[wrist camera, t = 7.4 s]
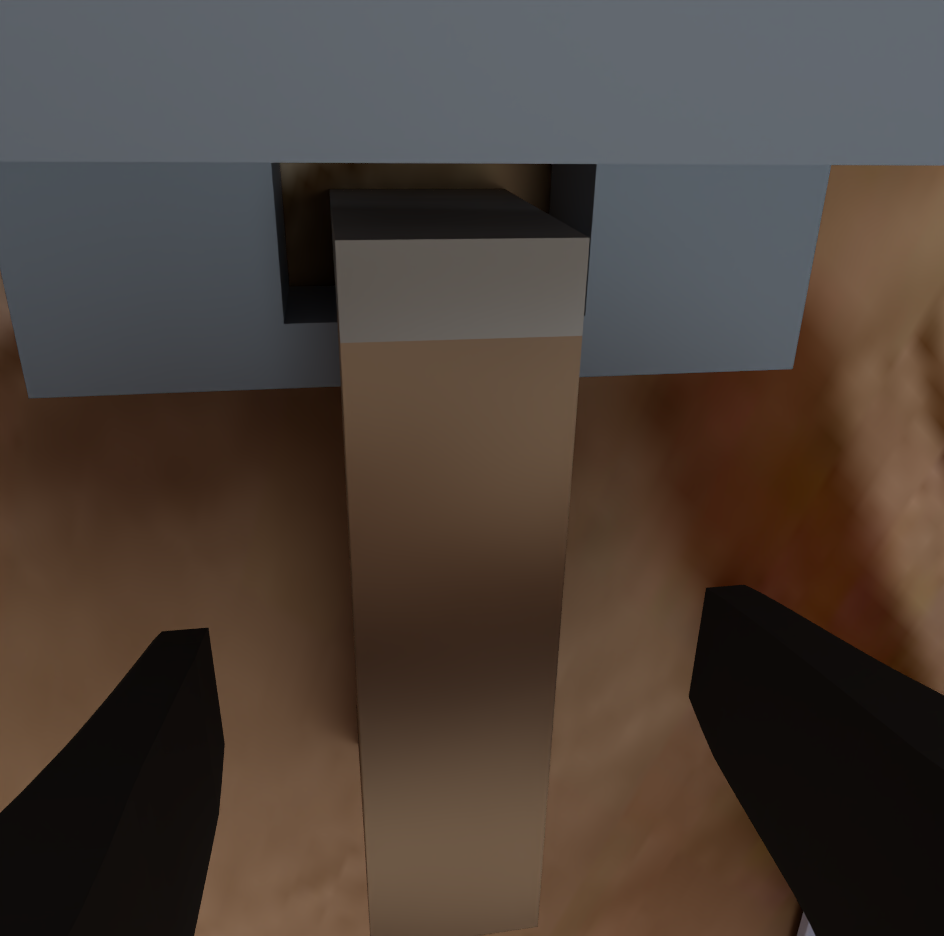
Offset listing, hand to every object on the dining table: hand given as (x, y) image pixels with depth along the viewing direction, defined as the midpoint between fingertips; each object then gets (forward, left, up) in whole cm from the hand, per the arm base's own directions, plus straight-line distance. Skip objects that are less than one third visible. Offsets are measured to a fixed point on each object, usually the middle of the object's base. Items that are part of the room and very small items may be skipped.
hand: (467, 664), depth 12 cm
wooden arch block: (0, 0, -5) cm, 5 cm away
